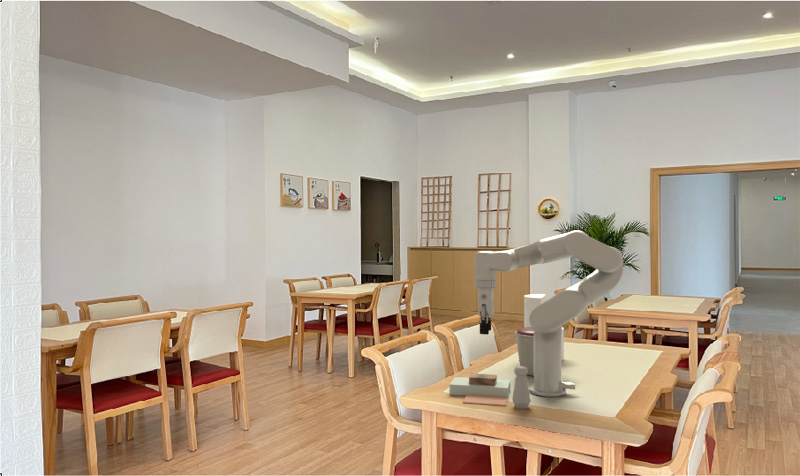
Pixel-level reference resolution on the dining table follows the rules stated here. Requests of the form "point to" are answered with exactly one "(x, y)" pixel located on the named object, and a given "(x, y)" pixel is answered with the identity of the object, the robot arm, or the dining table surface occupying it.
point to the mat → (485, 400)
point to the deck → (479, 388)
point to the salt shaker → (521, 388)
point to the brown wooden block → (483, 379)
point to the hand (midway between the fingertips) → (485, 332)
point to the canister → (526, 348)
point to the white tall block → (533, 302)
